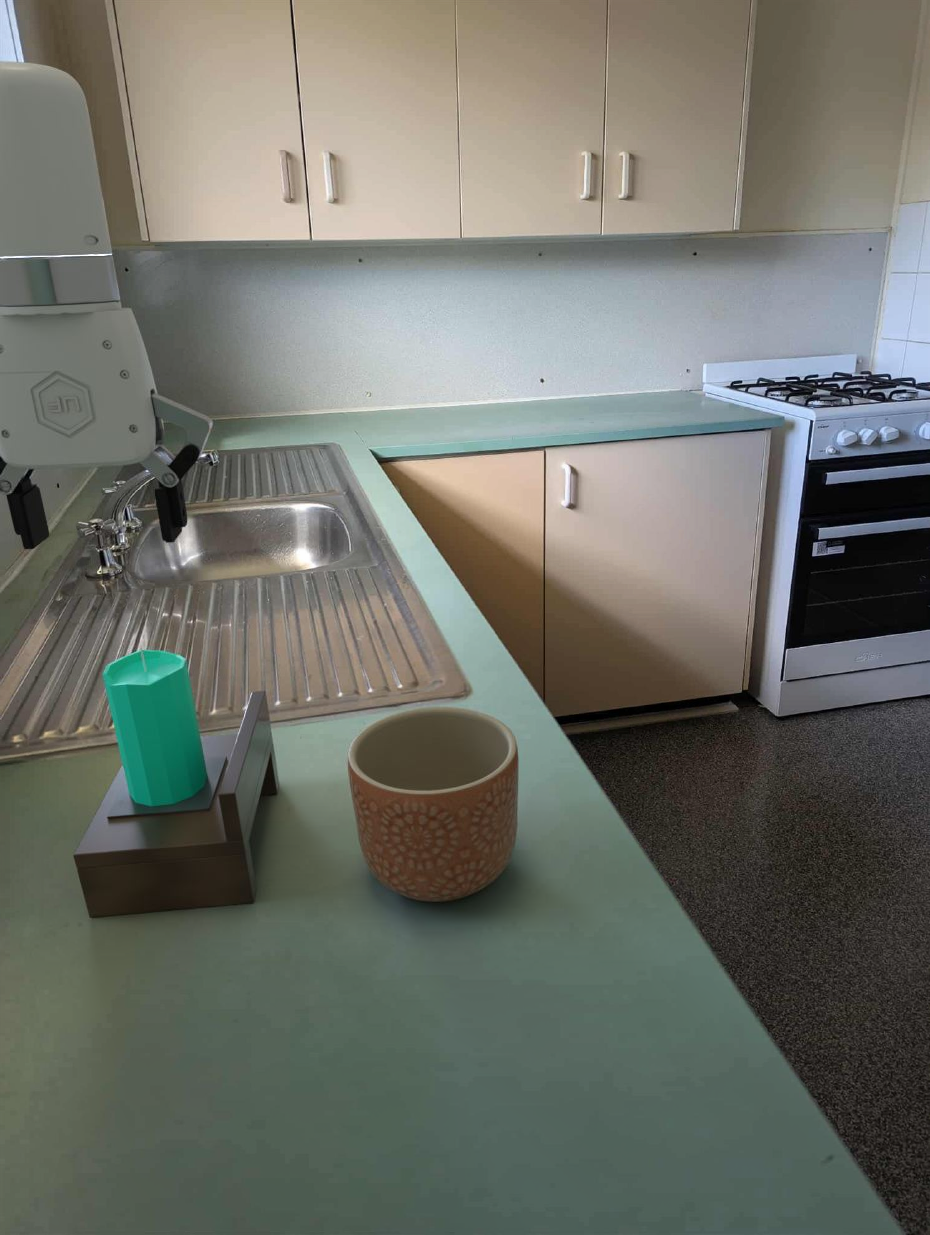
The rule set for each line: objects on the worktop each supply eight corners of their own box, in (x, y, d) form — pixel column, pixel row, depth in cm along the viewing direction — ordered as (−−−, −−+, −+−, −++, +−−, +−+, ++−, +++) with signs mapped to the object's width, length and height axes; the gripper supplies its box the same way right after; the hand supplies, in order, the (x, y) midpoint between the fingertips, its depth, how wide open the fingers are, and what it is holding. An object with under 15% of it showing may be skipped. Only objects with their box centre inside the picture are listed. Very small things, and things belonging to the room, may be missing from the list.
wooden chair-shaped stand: (89, 917, 64) (60, 807, 60) (145, 795, 79) (125, 701, 75) (254, 903, 65) (235, 793, 61) (279, 784, 80) (265, 690, 76)
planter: (461, 803, 75) (455, 690, 71) (554, 878, 66) (553, 752, 62) (332, 860, 69) (317, 739, 65) (414, 951, 59) (402, 817, 55)
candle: (126, 775, 71) (96, 641, 67) (202, 757, 73) (177, 625, 69) (131, 814, 66) (99, 671, 61) (212, 793, 68) (187, 653, 64)
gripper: (-112, 295, 53) (-41, 563, 59) (178, 285, 54) (216, 550, 60) (-53, 290, 60) (4, 531, 66) (203, 282, 61) (235, 520, 67)
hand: (105, 540), depth 63 cm, fingers open, 9 cm apart
